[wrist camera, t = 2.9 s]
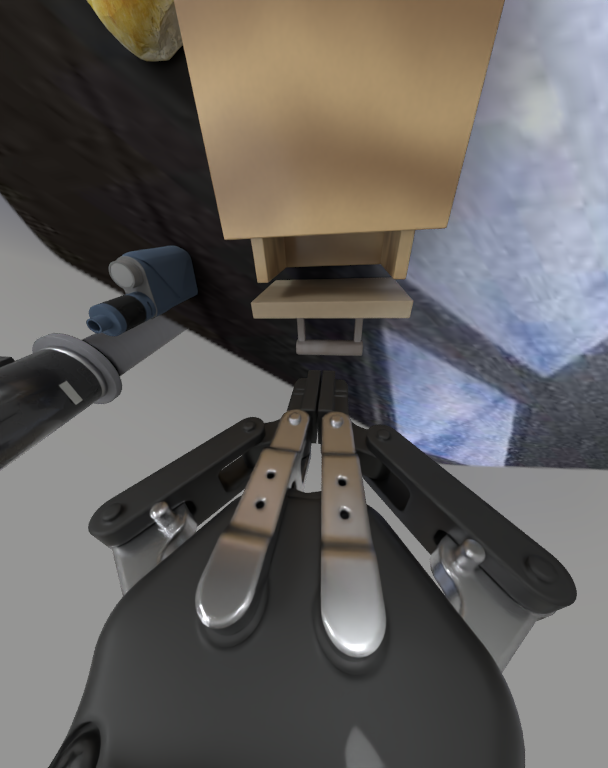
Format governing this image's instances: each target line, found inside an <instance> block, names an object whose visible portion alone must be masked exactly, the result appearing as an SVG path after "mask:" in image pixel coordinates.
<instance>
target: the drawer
mask: <svg viewBox="0 0 608 768" xmlns="http://www.w3.org/2000/svg"><path fill="white" fill-rule="evenodd" d="M414 234H415V230H404V231H385V232H367V233H348V234H329V235H310V236H291V237H272V238H253V239H251V243H252V249H253V255H254V262H255V268H256V275H257V281H258V283H268V282H269V281H270V280H272V279H273V278H274V277H275V276H276V275H278V274H279V273H280V272H281V271H282V270H284V269H285V268H286V267H308V266H338V265H368V264H381V265H382V266H383V267H384V269H385V270H386V271H387V272H388V273H389V274H390V276H391V277H388V278H349V279H310V280H276V281H275V282H273V283H272V284H271V285H270V286H269V287H268V288H267V289H266V290H265V291H263V292H262V293H261V294H260V295H259V296H258V297H257V298H256V299H255V300H254V301H252V302H251V306H252V312H253V317H254V318H297V325H298V339H299V340H297V343H296V351H297V354H301V355H350V356H361V355H362V351H363V341H362V340H361V334H362V324H363V318H410V314H411V309H412V305H413V300H412V299H411V298H410V297H409V295H408V294H407V293H406V292H405V291H404V290H403V289H402V287H401V286H400V285H399V284H398V283H397V282H396V281H395V279H406V275H407V270H408V265H409V260H410V254H411V249H412V244H413V239H414ZM305 318H355V329H354V340H305V339H306V334H305Z"/></svg>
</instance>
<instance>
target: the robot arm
mask: <svg viewBox="0 0 608 768" xmlns="http://www.w3.org/2000/svg"><path fill="white" fill-rule="evenodd" d="M107 391H108V385H107V382H106V380H105V378H104V376H103V374H102V373H101V372H100V370H99V369H98V368H97V367H96V366H95V365H94V364H93V363H92V362H91V361H89V360H88V359H87V358H85V357H84V356H82V355H81V354H79V353H77V352H76V351H74V350H71V349H69V348H66V347H63V346H58V345H51V346H47V347H45V348H42V349H40V350H38V351H37V352H35V353H33V354H31V355H29V356H26V357H24V358H21V359H19V360H16V361H14V359H13V358H12V357H0V471H1V470H2V469H3V468H5V467H6V466H8V465H9V464H10V463H12V462H13V461H14V460H16V459H17V458H19V457H20V456H21V455H23V454H24V453H25V452H27V451H28V450H30V449H31V448H32V447H34V446H35V445H36V444H38V443H39V442H40V441H42V440H43V439H45V438H46V437H47V436H49V435H50V434H51V433H53V432H54V431H56V430H57V429H58V428H60V427H61V426H62V425H64V424H65V423H67V422H68V421H69V420H70V419H72V418H73V417H75V416H76V415H77V414H79V413H80V412H82V411H83V410H84V409H86V408H87V407H89V406H90V405H91V404H93V403H94V402H95V401H97V400H99V399H101V398H102V397H103V396H105V395H106V393H107ZM317 432H318V443H319V444H321V454H322V491H319V492H312V493H304V486H305V481H306V477H307V472H308V468H309V463H310V459H311V443H316V440H317ZM241 455H242V456H241ZM240 456H241V457H240ZM238 457H239V458H238ZM237 458H238V459H237ZM235 459H237V460H235ZM234 460H235V461H234ZM233 461H234V462H233ZM231 462H232V463H231ZM230 463H231V464H230ZM228 464H229V465H228ZM227 465H228V466H227ZM225 466H227V467H225ZM224 467H225V468H224ZM223 468H224V469H223ZM362 477H363V478H364V480H365V481H366V482H367V483H368V484H369V485H370V487H371V488H372V489H373V490H374V491H375V492H376V493H377V494H378V496H379V497H380V498H381V499H382V500H383V501H384V502H385V504H386V505H387V506H388V507H389V508H390V509H391V510H392V511H393V513H394V514H395V515H396V516H397V517H398V518H399V519H400V521H401V522H402V523H403V524H404V525H405V526H406V527H407V528H408V530H409V531H410V532H411V533H412V534H413V535H414V537H415V538H416V539H417V540H418V541H419V542H420V543H421V544H422V546H423V547H424V548H425V549H426V550H427V551H428V552H429V553H430V555H431V557H430V567H431V571H432V573H433V576H434V578H435V579H436V581H437V583H438V584H439V585H440V587H441V588H442V590H443V592H444V594H445V595H444V594H443V593H442V591H441V590H440V589H439V588H438V586H437V585H436V584H435V582H434V581H433V580H432V579H431V577H430V576H429V575H428V574H427V572H426V571H425V570H424V568H423V567H422V566H421V565H420V563H419V562H418V561H417V560H416V558H415V557H414V556H413V554H412V553H411V552H410V551H409V550H408V548H407V547H406V546H405V544H404V543H403V542H402V541H401V539H400V538H399V537H398V535H397V534H396V533H395V532H394V530H393V529H392V528H391V527H390V525H389V524H388V523H387V522H386V521H385V519H384V518H383V517H382V516H381V515H380V514H379V513H378V512H377V511H376V510H374V509H373V508H372V507H370V506H369V505H367V504H366V499H365V492H364V486H363V479H362ZM244 489H245V490H244ZM242 490H244V492H243V494H242V496H240V497H238V498H237V499H235V500H234V501H232V502H231V503H230V504H229V505H228V506H226V507H225V508H224V509H223V510H222V511H221V512H220V513H218V514H217V515H216V516H215V517H213V518H212V519H211V520H210V521H209V522H208V523H206V524H205V525H204V526H203V527H202V528H201V529H199V530H198V531H197V532H196V528H197V526H199V525H200V524H201V523H202V522H204V521H205V520H206V519H207V518H209V517H210V516H211V515H212V514H214V513H215V512H216V511H217V510H219V509H220V508H221V507H222V506H224V505H225V504H226V503H227V502H229V501H230V500H231V499H232V498H234V497H235V496H236V495H237V494H239V493H240V492H241V491H242ZM88 529H89V532H90V534H91V535H93V536H94V537H95V538H97V539H98V540H100V541H101V542H102V543H103V544H105V545H106V546H108V547H109V548H110V549H112V551H113V555H114V560H115V564H116V568H117V572H118V577H119V581H120V585H121V589H122V594H123V597H122V599H121V600H120V601H119V602H118V604H117V605H116V607H115V608H114V609H113V611H112V613H111V614H110V616H109V618H108V619H107V621H106V623H105V625H104V627H103V629H102V631H101V634H100V636H99V639H98V641H97V644H96V647H95V651H94V655H93V660H92V664H91V668H90V673H89V676H88V680H87V683H86V687H85V690H84V693H83V696H82V699H81V702H80V705H79V707H78V710H77V712H76V715H75V717H74V720H73V722H72V725H71V727H70V730H69V732H68V734H67V736H66V738H65V740H64V742H63V744H62V746H61V747H60V749H59V751H58V753H57V754H56V756H55V758H54V759H53V761H52V762H51V764H50V766H49V767H48V768H525V748H524V740H523V732H522V728H521V723H520V719H519V715H518V712H517V709H516V706H515V703H514V699H513V697H512V694H511V692H510V689H509V687H508V685H507V683H506V681H505V679H504V677H503V675H502V672H503V670H504V669H505V667H506V666H507V664H508V663H509V661H510V660H511V658H512V657H513V655H514V654H515V652H516V651H517V649H518V648H519V646H520V645H521V643H522V642H523V640H524V639H525V637H526V636H527V634H528V633H529V631H530V630H531V628H532V627H533V625H534V623H535V622H536V621H538V620H541V619H544V618H546V617H548V616H551V615H553V614H554V613H555V612H556V611H557V610H559V609H562V608H564V607H567V606H569V605H571V604H573V603H574V601H575V600H576V596H577V591H576V587H575V584H574V582H573V579H572V578H571V576H570V574H569V573H568V571H567V570H566V569H565V567H564V566H563V565H562V564H561V563H560V562H559V561H558V560H557V559H556V558H555V557H554V556H553V555H551V554H550V553H549V552H548V551H547V550H545V549H544V548H543V547H542V546H540V545H539V544H538V543H537V542H535V541H534V540H533V539H531V538H530V537H529V536H528V535H526V534H525V533H524V532H523V531H521V530H520V529H519V528H518V527H516V526H515V525H514V524H513V523H511V522H510V521H509V520H508V519H506V518H505V517H504V516H503V515H501V514H500V513H499V512H498V511H496V510H495V509H494V508H493V507H491V506H490V505H489V504H487V503H486V502H485V501H483V500H482V499H481V498H480V497H479V496H477V495H476V494H475V493H474V492H472V491H471V490H470V489H469V488H467V487H466V486H465V485H463V484H462V483H461V482H460V481H459V480H457V479H456V478H455V477H453V476H452V475H451V474H450V473H448V472H447V471H446V470H445V469H444V468H442V467H441V466H440V465H439V464H437V463H436V462H435V461H433V460H432V459H431V458H430V457H428V456H427V455H426V454H425V453H423V452H422V451H421V450H420V449H418V448H417V447H416V446H415V445H413V444H412V443H411V442H410V441H408V440H407V439H406V438H405V437H403V436H402V435H401V434H400V433H398V432H397V431H396V430H395V429H393V428H391V427H389V426H386V425H374V426H372V427H370V428H369V429H368V430H367V429H364V428H361V427H359V426H357V425H355V424H354V423H353V422H352V421H351V419H350V417H349V410H348V385H347V383H346V382H345V381H344V380H337V379H335V371H323V374H322V376H321V371H319V370H309V372H308V377H307V378H300V379H299V380H298V381H297V382H296V383H295V385H294V389H293V392H292V395H291V399H290V402H289V406H288V409H287V412H286V413H284V414H283V416H282V417H281V419H279V420H277V421H274V422H269V423H263V421H262V420H261V419H259V418H256V417H250V418H246V419H243V420H241V421H240V422H238V423H236V424H235V425H233V426H231V427H230V428H228V429H226V430H225V431H223V432H221V433H220V434H218V435H216V436H215V437H213V438H211V439H210V440H208V441H206V442H205V443H203V444H201V445H200V446H198V447H196V448H195V449H193V450H192V451H190V452H188V453H187V454H185V455H183V456H182V457H180V458H178V459H177V460H175V461H173V462H172V463H170V464H168V465H167V466H165V467H164V468H162V469H160V470H158V471H157V472H155V473H153V474H152V475H150V476H148V477H147V478H145V479H143V480H142V481H140V482H138V483H137V484H135V485H133V486H132V487H130V488H128V489H127V490H125V491H123V492H122V493H120V494H118V495H117V496H115V497H113V498H112V499H110V500H109V501H107V502H106V503H104V504H103V505H102V506H101V507H100V508H99V509H98V510H97V511H96V512H95V513H94V515H93V516H92V518H91V520H90V522H89V526H88Z"/></svg>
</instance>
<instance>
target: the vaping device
mask: <svg viewBox="0 0 608 768" xmlns="http://www.w3.org/2000/svg"><path fill="white" fill-rule="evenodd" d="M109 273H110V276H111V278H112V279H113V281H114V282H115V283H116V284H117V285H118V286H120V287H122V288H124V290H125V292H126V295H123V296H120V297H118V298H115V299H112V300H109V301H106V302H103V303H100V304H97V305H94V306H92V307H91V308H90V310H89V316H90V319H88V320H87V321H86V323H87V326H88V327H89V329H90V330H92V331H93V332H95V333H101V332H103V333H104V334H106V335H109V336H118V335H120V334H122V333H124V332H126V331H128V330H130V329H132V328H134V327H136V326H137V325H139V324H141V323H143V322H145V321H147V320H149V319H153V318H155V317H157V316H159V315H161V314H162V313H164V312H166V311H168V310H169V309H170V308H172V307H173V306H175V305H177V304H179V303H181V302H183V301H185V300H187V299H189V298H191V297H193V296H195V295H197V293H198V289H197V285H196V280H195V275H194V270H193V265H192V260H191V257H190V255H189V254H188V252H186V251H185V250H184V249H182V248H180V247H177V246H165V247H159V248H152V249H145V250H139V251H132V252H127V253H125V254H124V255H122V257H119V258H118V259H117V260H116V261H113V262H111V263H110V265H109Z"/></svg>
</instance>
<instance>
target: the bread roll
mask: <svg viewBox="0 0 608 768" xmlns="http://www.w3.org/2000/svg"><path fill="white" fill-rule="evenodd" d="M87 1H88V3H89V4H90V5H91V6H92V8H93V9H94V11H95V12H96V14H97V15H98V17H99V18H100V20H101V21H102V22H103V24H104V25H105V26H106V28H107V29H108V30H109V31H110V32H111V33H112V34H113V35H114V36H115V37H116V39H117V40H118V41H119V42H120V43H121V44H122V45H123V46H124V47H126V48H127V49H128V50H129V51H130V52H132V53H133V54H135V55H136V56H138V57H139V58H141V59H143V60H145V61H167V60H170V59H171V58H172V56H173V55H174V54H175V53H176V52H177V50H178V49H179V48H180V47H181V46H183V41H182V37H181V32H180V27H179V23H178V18H177V13H176V8H175V4H174V0H87Z"/></svg>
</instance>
